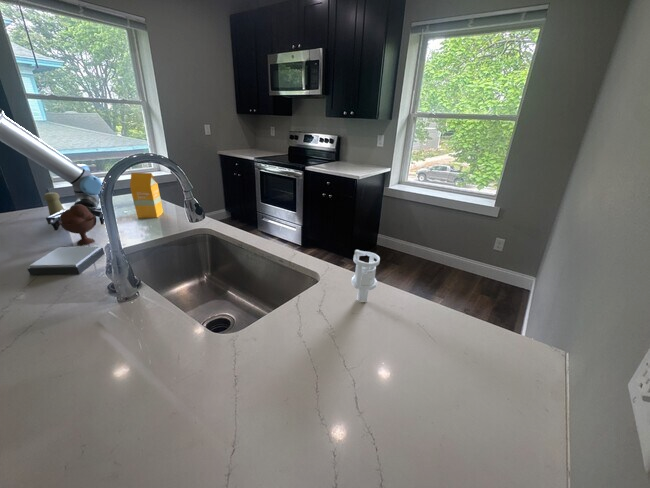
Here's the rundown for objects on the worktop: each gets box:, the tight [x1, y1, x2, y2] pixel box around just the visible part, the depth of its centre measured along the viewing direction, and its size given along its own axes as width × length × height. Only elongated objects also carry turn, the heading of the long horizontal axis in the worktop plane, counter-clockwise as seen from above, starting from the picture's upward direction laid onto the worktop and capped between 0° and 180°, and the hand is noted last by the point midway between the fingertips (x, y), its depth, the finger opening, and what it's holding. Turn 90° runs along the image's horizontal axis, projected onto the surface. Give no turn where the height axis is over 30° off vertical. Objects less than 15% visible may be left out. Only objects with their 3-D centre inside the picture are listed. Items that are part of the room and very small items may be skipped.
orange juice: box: [129, 172, 164, 219], centre depth 138 cm, size 8×9×20 cm
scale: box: [27, 246, 106, 276], centre depth 97 cm, size 14×14×3 cm
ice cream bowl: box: [59, 204, 98, 247], centre depth 110 cm, size 11×11×15 cm
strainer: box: [350, 249, 381, 303], centre depth 83 cm, size 7×7×15 cm
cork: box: [43, 192, 65, 216], centre depth 133 cm, size 6×6×11 cm
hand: (78, 223), depth 108 cm, fingers open, 13 cm apart
